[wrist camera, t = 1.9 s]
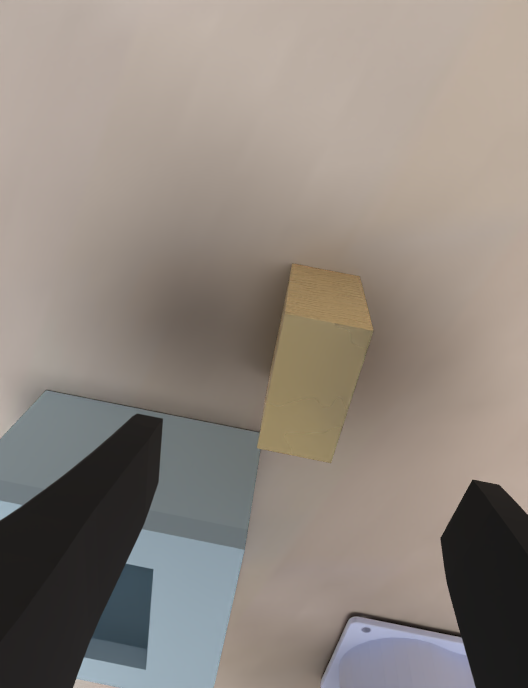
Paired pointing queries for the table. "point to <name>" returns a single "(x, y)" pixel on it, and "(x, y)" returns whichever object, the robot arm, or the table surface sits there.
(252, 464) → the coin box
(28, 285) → the table surface
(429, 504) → the table surface
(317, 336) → the tan rectangular block
